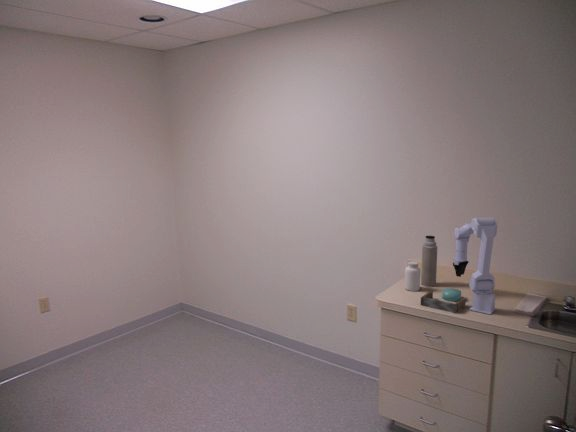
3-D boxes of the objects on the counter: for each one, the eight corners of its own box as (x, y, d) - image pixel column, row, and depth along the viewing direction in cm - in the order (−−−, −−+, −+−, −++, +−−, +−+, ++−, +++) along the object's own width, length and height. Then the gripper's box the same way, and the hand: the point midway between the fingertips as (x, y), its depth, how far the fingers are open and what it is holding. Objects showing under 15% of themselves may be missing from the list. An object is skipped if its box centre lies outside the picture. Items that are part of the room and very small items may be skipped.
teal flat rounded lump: (463, 297, 217) (463, 290, 216) (457, 303, 210) (458, 295, 210) (445, 294, 223) (445, 287, 222) (439, 299, 216) (439, 292, 215)
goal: (465, 305, 206) (465, 297, 206) (456, 313, 197) (457, 305, 196) (430, 298, 217) (430, 290, 217) (420, 305, 208) (420, 297, 207)
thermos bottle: (427, 281, 245) (428, 234, 240) (438, 284, 238) (440, 236, 234) (418, 284, 240) (419, 235, 236) (429, 287, 234) (431, 238, 229)
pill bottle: (420, 291, 227) (421, 264, 225) (405, 291, 229) (405, 264, 227) (419, 287, 235) (419, 261, 233) (404, 286, 237) (404, 260, 234)
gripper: (458, 246, 230) (457, 270, 232) (448, 251, 219) (447, 277, 221) (471, 248, 226) (470, 273, 228) (462, 253, 215) (461, 279, 217)
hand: (460, 275), depth 224 cm, fingers open, 4 cm apart
